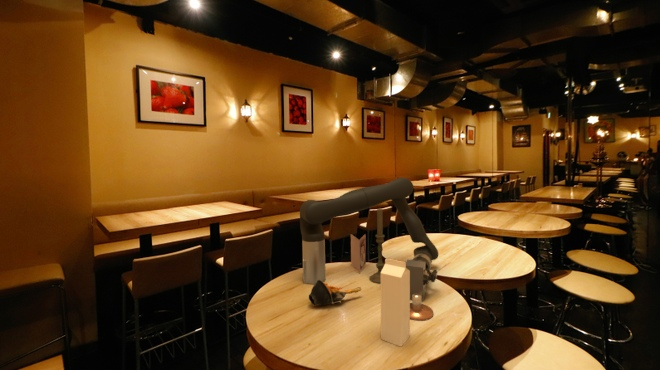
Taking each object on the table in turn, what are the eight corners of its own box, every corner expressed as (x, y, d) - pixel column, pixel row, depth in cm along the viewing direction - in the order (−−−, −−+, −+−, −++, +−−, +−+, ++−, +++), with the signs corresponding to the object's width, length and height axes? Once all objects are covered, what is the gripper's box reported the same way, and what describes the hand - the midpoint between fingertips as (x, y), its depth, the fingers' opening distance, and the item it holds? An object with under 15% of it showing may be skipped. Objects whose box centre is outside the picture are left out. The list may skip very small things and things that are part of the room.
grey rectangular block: (404, 298, 106) (404, 265, 105) (407, 290, 112) (407, 259, 111) (422, 301, 103) (423, 267, 102) (425, 293, 109) (425, 261, 108)
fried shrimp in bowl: (301, 288, 105) (341, 263, 114) (316, 317, 104) (355, 289, 112) (309, 288, 97) (351, 261, 106) (325, 320, 96) (366, 289, 104)
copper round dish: (407, 321, 91) (407, 303, 90) (396, 306, 101) (396, 289, 100) (438, 319, 92) (439, 301, 91) (425, 303, 102) (425, 287, 101)
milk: (390, 329, 87) (389, 255, 85) (410, 336, 83) (410, 259, 82) (380, 339, 82) (379, 261, 80) (401, 347, 78) (401, 265, 77)
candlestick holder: (394, 277, 125) (394, 206, 122) (386, 285, 117) (386, 210, 115) (374, 273, 130) (374, 205, 127) (365, 281, 122) (364, 208, 120)
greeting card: (361, 273, 130) (361, 240, 129) (345, 272, 132) (344, 238, 131) (367, 265, 141) (367, 233, 139) (352, 263, 143) (351, 232, 142)
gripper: (402, 254, 123) (393, 267, 107) (439, 258, 117) (435, 273, 101) (402, 271, 123) (393, 288, 108) (439, 277, 117) (435, 294, 102)
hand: (414, 280), depth 105 cm, fingers closed on grey rectangular block, 6 cm apart
